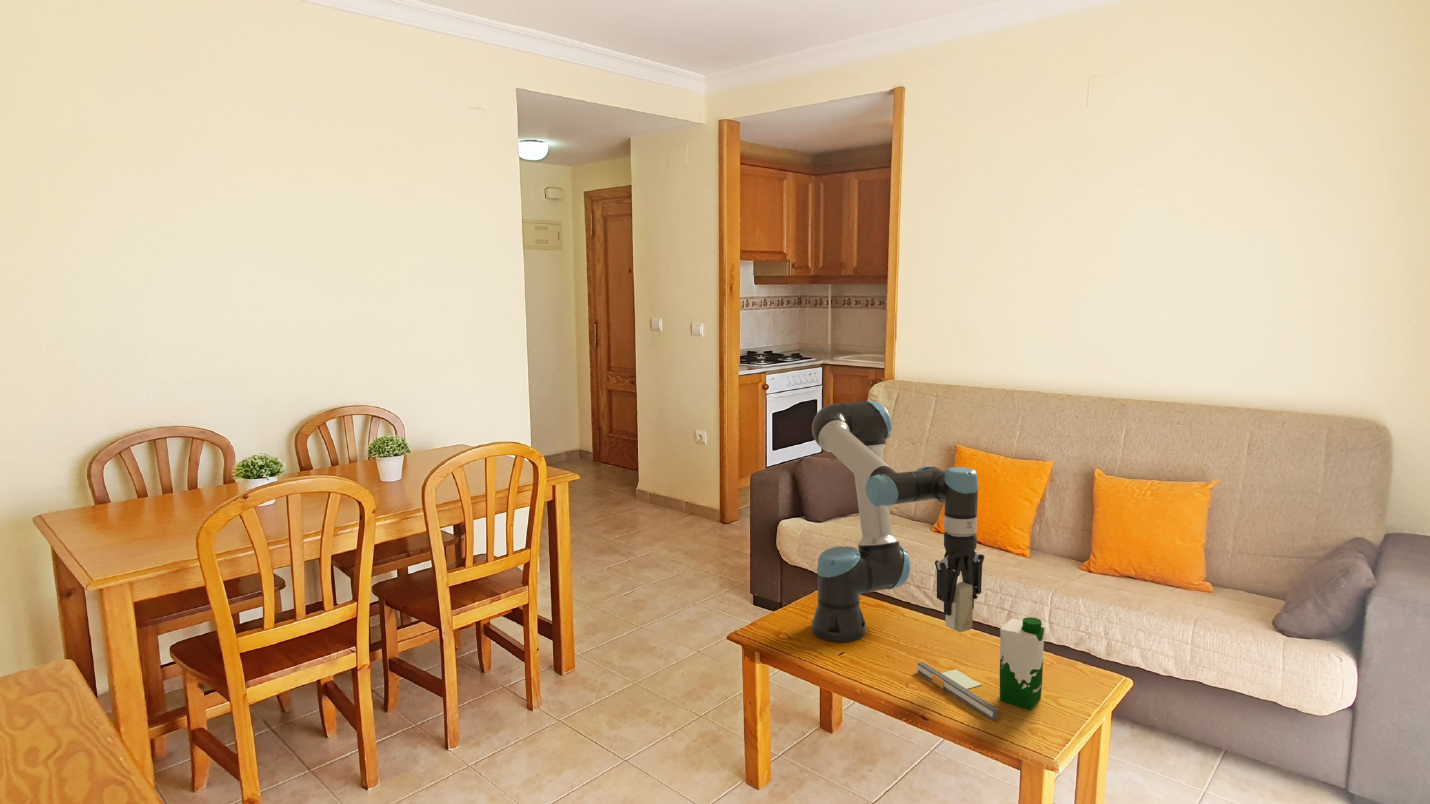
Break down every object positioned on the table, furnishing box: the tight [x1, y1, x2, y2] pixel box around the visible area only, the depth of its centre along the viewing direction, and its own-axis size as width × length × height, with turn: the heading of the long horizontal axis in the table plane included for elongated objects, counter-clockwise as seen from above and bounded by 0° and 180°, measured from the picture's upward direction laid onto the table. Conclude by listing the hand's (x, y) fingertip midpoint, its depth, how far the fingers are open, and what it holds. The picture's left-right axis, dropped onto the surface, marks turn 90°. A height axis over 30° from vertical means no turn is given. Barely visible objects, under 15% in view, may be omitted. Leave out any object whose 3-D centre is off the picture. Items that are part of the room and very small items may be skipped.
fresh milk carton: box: [999, 616, 1046, 711], centre depth 190 cm, size 9×9×20 cm
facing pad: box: [941, 669, 982, 690], centre depth 201 cm, size 9×7×1 cm
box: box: [946, 579, 973, 633], centre depth 198 cm, size 5×4×11 cm
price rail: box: [916, 661, 999, 721], centre depth 194 cm, size 26×2×2 cm, turn 25°
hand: (958, 624), depth 199 cm, fingers closed on box, 4 cm apart
